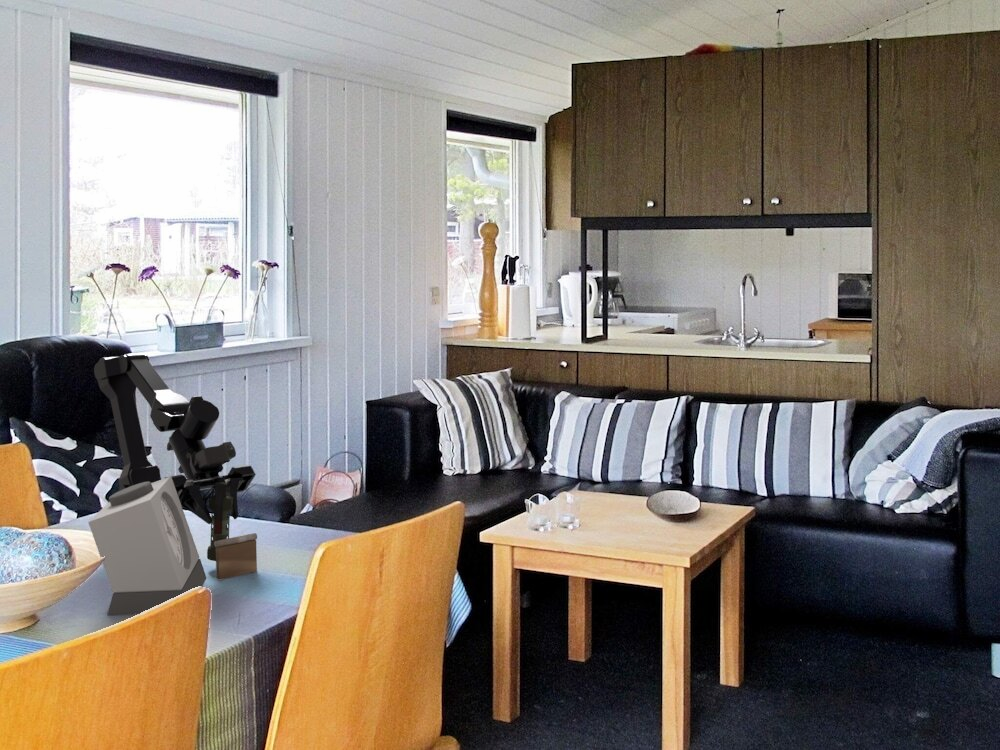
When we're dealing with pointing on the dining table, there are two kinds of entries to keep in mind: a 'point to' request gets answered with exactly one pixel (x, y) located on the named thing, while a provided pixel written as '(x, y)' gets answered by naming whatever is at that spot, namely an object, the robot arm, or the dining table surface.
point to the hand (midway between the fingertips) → (223, 520)
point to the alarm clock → (146, 547)
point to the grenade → (218, 515)
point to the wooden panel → (236, 556)
